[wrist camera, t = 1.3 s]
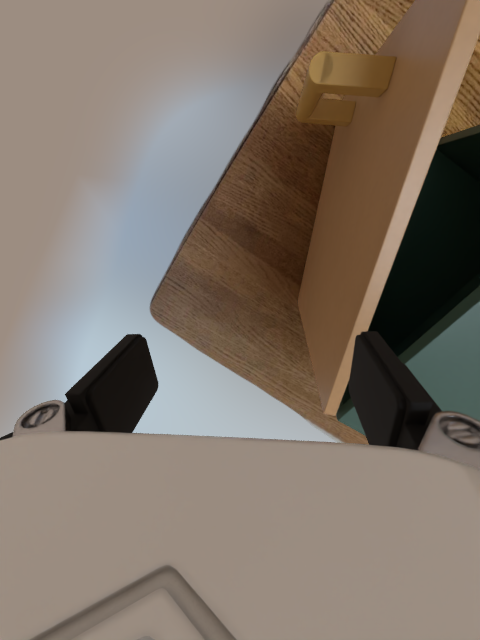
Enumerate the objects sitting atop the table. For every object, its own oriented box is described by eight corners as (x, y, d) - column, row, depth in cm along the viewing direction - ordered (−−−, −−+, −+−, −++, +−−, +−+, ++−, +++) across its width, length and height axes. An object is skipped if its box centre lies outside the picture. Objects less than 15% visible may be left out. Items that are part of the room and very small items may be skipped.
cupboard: (303, 304, 42) (337, 420, 20) (435, 139, 30) (830, 4, 9) (387, 356, 44) (495, 507, 23) (538, 221, 33) (1037, 270, 11)
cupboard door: (265, 298, 42) (258, 404, 21) (295, 97, 30) (353, -138, 9) (303, 303, 41) (335, 416, 20) (349, 101, 29) (544, -133, 8)
